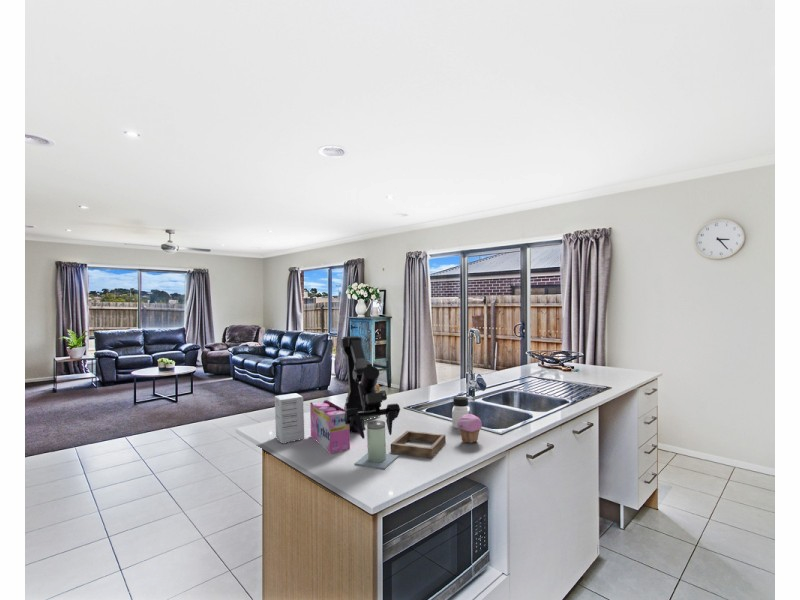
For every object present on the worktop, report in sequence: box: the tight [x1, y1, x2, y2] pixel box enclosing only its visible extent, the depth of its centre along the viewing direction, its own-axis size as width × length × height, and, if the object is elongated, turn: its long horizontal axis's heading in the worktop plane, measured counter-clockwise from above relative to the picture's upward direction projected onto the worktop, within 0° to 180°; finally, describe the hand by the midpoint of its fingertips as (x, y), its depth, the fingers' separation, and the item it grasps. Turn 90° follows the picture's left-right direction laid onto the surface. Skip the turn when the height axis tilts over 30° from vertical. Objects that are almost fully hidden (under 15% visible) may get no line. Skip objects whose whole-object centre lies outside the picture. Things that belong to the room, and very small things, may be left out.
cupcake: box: [458, 413, 483, 444], centre depth 149 cm, size 9×9×10 cm
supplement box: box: [274, 392, 305, 444], centre depth 158 cm, size 10×9×17 cm
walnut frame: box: [390, 430, 447, 459], centre depth 144 cm, size 15×15×3 cm
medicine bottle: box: [451, 395, 471, 429], centre depth 169 cm, size 7×7×12 cm
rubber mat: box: [353, 452, 400, 470], centre depth 133 cm, size 11×11×1 cm
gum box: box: [309, 400, 351, 454], centre depth 153 cm, size 24×8×14 cm, turn 31°
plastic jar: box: [366, 420, 387, 463], centre depth 133 cm, size 6×6×12 cm
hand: (377, 436), depth 132 cm, fingers open, 9 cm apart
